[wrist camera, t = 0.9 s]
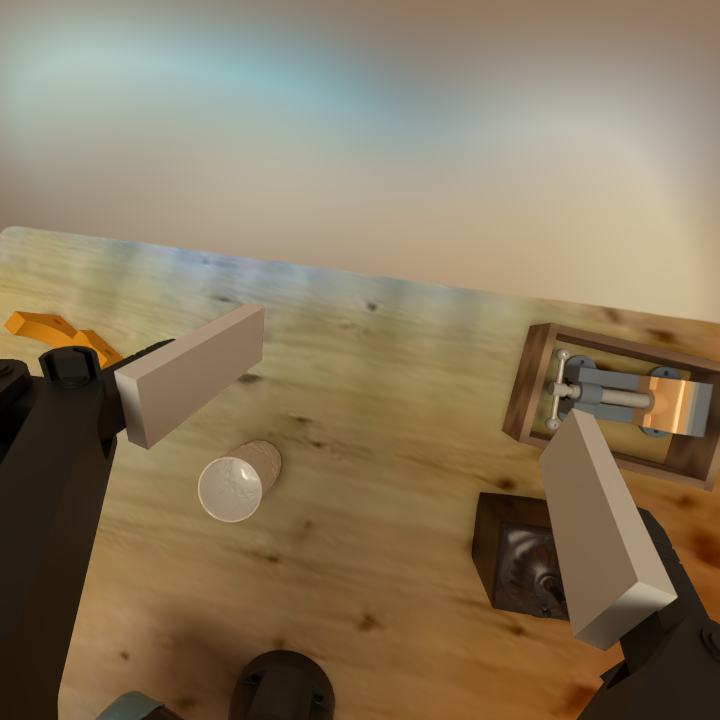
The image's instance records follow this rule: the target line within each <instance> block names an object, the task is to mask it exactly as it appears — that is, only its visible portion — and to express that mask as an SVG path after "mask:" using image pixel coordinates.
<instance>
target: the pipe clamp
mask: <svg viewBox="0 0 720 720" xmlns="http://www.w3.org/2000/svg"><path fill="white" fill-rule="evenodd" d="M4 326H5V327H6V328H7V329H8V330H9V331H10V332H11V333H12V334H13V335H18V336H25V337H29V338H33V339H36V340H39V341H42V342H44V343H46V344H49V345H51V346H52V347H54V348H60V347H65V346H86V347H89V348H93V349H94V350H95V351H96V352H97V354H98V359H99V363H100V367H101V370H103V369H105V368H107V367H109V366H111V365H113V364H115V363H117V362H119V361H121V360H123V359H124V358H123V357H121V356H120V355H119V354H118V353H117V352H116V351H115V350H114V349H113V348H111V347H110V346H109V345H108V344H107V343H106V342H105V341H104V340H103V339H101V338H100V337H99V336H98V335H97V334H96V333H95V332H94V331H87V330H79V332H77V331H76V330H75V329H74V328H73V327H72V326H70V325H69V324H68V323H67V322H66V321H65V320H64V319H63V318H62V317H60V316H57V315H47V314H38V313H28V312H19V311H15V312H14V313H13V315H12V316H11V317H10V318H9V320H8V321H7V322H6V324H5V325H4Z"/></svg>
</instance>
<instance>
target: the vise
mask: <svg viewBox="0 0 720 720" xmlns="http://www.w3.org/2000/svg"><path fill="white" fill-rule="evenodd" d="M556 357H557V358H558V359H559V365H558V371H557V377H556V382H550V384H549V386H548V393H549V395H553V396H554V397H553V403H552V410H551V416H550V418H548V419H547V420H546V422H545V425H546V427H547V428H548V429H550V430H556V429H558V427H559V422H558V420H557V419H556V415H557V416H558V418H559V419H560V420H561V421H562V422H563V421H564V419H565V418H566V416H567V415H568V413H569V412H570V410H571V409H572V408H573V409H576V410H579V411H582V412H586V413H589V414H592V415H594V418H598V419H605V420H612V421H619V422H626V423H632V424H635V425H639V428H640V429H641V431H642V432H643V433H645V434H646V435H649V436H652V437H663V436H665V435H667V434H668V433H669V432H671V433H676V434H683V435H690V436H697V437H704V436H705V430H706V425H707V419H708V414H709V408H710V402H711V397H712V391H713V386H714V385H712V384H705V383H698V382H690V381H683V380H681V378H680V376H679V374H678V372H677V371H676V370H674V369H672V368H670V367H656V368H653V369H652V370H650V371H649V372H648V374H647V375H646V376H640V375H633V374H625V373H618V372H610V371H603V370H598V369H597V368H596V366H595V364H594V362H593V361H592V360H591V359H590V358H588V357H586V356H573V357H571V358H569V357H570V352H569V350H568V349H563V348H561V349H559V350H557V352H556ZM568 358H569V359H568ZM567 359H568V360H567ZM565 360H567V361H566V362H565ZM580 360H581V361H582V362H581V364H580V363H579V362H580ZM664 372H665V374H664ZM562 377H565V378H568V381H571V382H573V384H571V385H569V386H568V387H567V385H566V384H565V383H562ZM600 385H601V386H608V387H615V388H623V391H615V390H609V389H602V387H601V386H600ZM566 395H567V396H568V397H570V399H566V398H565V400H559V396H560V397H565V396H566ZM600 402H604V403H611V404H619V405H622V406H616V405H609V404H602V403H600ZM623 406H626V407H623ZM654 429H655V431H654Z"/></svg>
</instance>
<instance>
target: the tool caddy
mask: <svg viewBox="0 0 720 720" xmlns="http://www.w3.org/2000/svg"><path fill="white" fill-rule="evenodd" d="M555 340H559V341H563V342H567V343H572V344H576V345H580V346H584V347H589V348H593V349H597V350H601V351H605V352H610V353H614V354H618V355H622V356H627V357H631V358H635V359H639V360H643V361H648V362H652V363H656V364H660V365H665V366H669V367H673V368H677V369H681V370H686V371H690V372H692V373H691V376H690V380H689V381H690V382H698V383H705V384H712V385H714V386H713V391H712V397H711V402H710V408H709V414H708V419H707V425H706V430H705V436H704V437H697V436H690V435H683V434H676V433H674V434H673V437H672V441H671V444H670V448H669V451H668V454H667V458H666V461H665V464H661V463H657V462H653V461H649V460H645V459H641V458H637V457H633V456H629V455H625V454H621V453H617V452H614V451H610V452H611V454H612V456H613V458H614V461H615V463H616V465H617V467H618V468H622V469H625V470H629V471H633V472H637V473H641V474H645V475H649V476H653V477H657V478H660V479H664V480H668V481H672V482H676V483H680V484H684V485H688V486H692V487H696V488H699V489H703V490H707V491H711V492H712V490H713V487H714V484H715V480H716V477H717V474H718V471H719V467H720V362H716V361H712V360H708V359H704V358H699V357H695V356H691V355H686V354H682V353H678V352H674V351H669V350H665V349H661V348H657V347H652V346H648V345H644V344H639V343H635V342H631V341H627V340H622V339H618V338H614V337H610V336H605V335H601V334H597V333H592V332H588V331H584V330H580V329H575V328H571V327H567V326H563V325H558V324H554V323H547V324H541V325H534V326H530V328H529V332H528V336H527V339H526V343H525V347H524V350H523V354H522V358H521V362H520V365H519V369H518V373H517V376H516V380H515V384H514V388H513V391H512V395H511V399H510V402H509V406H508V410H507V414H506V417H505V421H504V425H503V428H502V431H503V432H505V433H506V434H508V435H509V436H511V437H512V438H514V439H515V440H516V441H518V442H520V443H524V444H528V445H532V446H536V447H540V448H544V449H546V447H547V445H548V444H549V442H550V441H551V439H552V438H553V436H551V435H547V434H543V433H539V432H535V431H531V427H532V423H533V420H534V416H535V413H536V409H537V405H538V402H539V398H540V394H541V391H542V387H543V383H544V380H545V376H546V372H547V369H548V365H549V361H550V358H551V354H552V350H553V347H554V343H555Z"/></svg>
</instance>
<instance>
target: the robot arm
mask: <svg viewBox="0 0 720 720" xmlns="http://www.w3.org/2000/svg"><path fill="white" fill-rule="evenodd" d="M264 309H265V307H262V306H259V305H256V304H253V303H250V302H249V303H247V304H245V305H243V306H241V307H239V308H237V309H235V310H233V311H231V312H230V313H228V314H226V315H224V316H222V317H220V318H218V319H216V320H214V321H212V322H210V323H208V324H206V325H204V326H202V327H200V328H198V329H196V330H194V331H192V332H190V333H188V334H186V335H184V336H182V337H180V338H178V339H177V340H176V339H170V340H166V341H161V342H158V343H156V344H154V345H152V346H150V347H147V348H146V349H145V350H141V351H139V352H137V353H136V354H135V355H131V356H129V357H127V358H125V359H123V360H121V361H119V362H117V363H115V364H113V365H111V366H109V367H107V368H105V369H103V370H101V367H100V363H99V359H98V354H97V352H96V351H95V350H94V349H93V348H89V347H86V346H65V347H60V348H56V349H52V350H50V351H48V352H46V353H43V354H42V355H41V356H40V357H39V358H38V359H39V362H40V365H41V368H42V371H43V374H44V377H38V376H31V375H30V372H29V370H28V367H27V364H26V363H24V362H23V361H20V360H15V359H0V720H58V704H57V703H58V693H59V688H60V683H61V679H62V675H63V670H64V666H65V662H66V658H67V654H68V649H69V645H70V641H71V637H72V632H73V628H74V624H75V620H76V615H77V611H78V607H79V603H80V599H81V594H82V590H83V586H84V582H85V577H86V573H87V569H88V565H89V560H90V556H91V552H92V548H93V543H94V539H95V535H96V531H97V527H98V522H99V518H100V514H101V510H102V505H103V501H104V497H105V493H106V488H107V484H108V480H109V476H110V471H111V467H112V463H113V459H114V455H115V450H116V446H117V436H116V434H117V433H119V432H120V431H122V430H123V429H125V428H126V430H127V435H128V440H129V441H130V442H132V443H134V444H136V445H139V446H141V447H143V448H146V449H150V448H151V447H152V446H153V445H155V444H156V443H157V442H158V441H160V440H161V439H162V438H163V437H165V436H166V435H167V434H168V433H170V432H171V431H172V430H174V429H175V428H176V427H177V426H179V425H180V424H181V423H182V422H184V421H185V420H186V419H187V418H189V417H190V416H191V415H192V414H194V413H195V412H196V411H197V410H199V409H200V408H201V407H203V406H204V405H205V404H206V403H208V402H209V401H210V400H211V399H213V398H214V397H215V396H216V395H218V394H219V393H220V392H221V391H223V390H224V389H225V388H226V387H228V386H229V385H230V384H232V383H233V382H234V381H235V380H237V379H238V378H239V377H240V376H242V375H243V374H244V373H245V372H247V371H248V370H249V369H250V368H252V367H253V366H254V365H255V364H257V363H258V362H259V361H261V360H262V346H263V327H264ZM539 463H540V468H541V473H542V478H543V484H544V489H545V494H546V499H547V504H548V509H549V514H550V520H551V525H552V530H553V535H554V540H555V545H556V551H557V556H558V561H559V566H560V571H561V576H562V581H563V587H564V592H565V597H566V602H567V607H568V612H569V618H570V623H571V628H572V633H573V637H574V638H576V639H579V640H581V641H583V642H586V643H588V644H590V645H592V646H595V647H597V648H599V649H601V650H604V651H606V650H607V649H609V648H610V647H611V646H613V645H614V644H615V643H617V642H618V641H620V644H621V647H622V651H623V654H624V657H625V659H624V660H623V661H621V662H620V663H618V664H617V665H615V666H614V667H613V668H611V669H610V670H608V671H607V672H605V673H604V674H602V675H601V676H600V678H601V679H602V680H603V681H604V683H603V684H602V686H601V687H600V688H599V690H598V691H597V692H596V694H595V695H594V697H593V698H592V699H591V701H590V702H589V703H588V705H587V706H586V707H585V709H584V710H583V712H582V713H581V714H580V716H579V717H578V718H577V720H720V625H719V624H718V623H717V622H715V621H713V620H711V619H710V618H709V616H708V614H707V612H706V610H705V608H704V606H703V604H702V603H701V601H700V599H699V597H698V595H697V593H696V591H695V589H694V587H693V585H692V583H691V581H690V579H689V577H688V575H687V573H686V571H685V570H684V568H683V566H682V564H680V563H679V561H680V560H679V558H678V556H677V554H676V552H675V550H674V549H672V544H671V542H670V540H669V538H668V537H667V535H666V533H665V531H664V529H663V528H662V526H661V525H660V524H659V523H658V522H657V521H656V519H655V518H654V517H653V516H652V515H651V514H650V512H649V511H647V510H644V509H642V508H639V507H636V506H635V504H634V501H633V499H632V497H631V495H630V493H629V491H628V489H627V486H626V484H625V482H624V480H623V478H622V476H621V473H620V471H619V469H618V467H617V465H616V463H615V461H614V458H613V456H612V454H611V452H610V450H609V448H608V446H607V443H606V441H605V439H604V437H603V435H602V433H601V430H600V428H599V426H598V424H597V422H596V420H595V418H594V415H592V414H589V413H586V412H582V411H579V410H576V409H573V408H572V409H571V410H570V412H569V413H568V415H567V416H566V418H565V419H564V421H563V423H562V424H561V426H560V427H559V429H558V430H557V432H556V433H555V435H554V436H553V438H552V439H551V441H550V442H549V444H548V445H547V447H546V449H545V450H544V452H543V453H542V455H541V456H540V458H539ZM334 705H335V704H334V694H333V690H332V687H331V684H330V682H329V680H328V678H327V677H326V675H325V674H324V672H323V671H322V670H321V669H320V668H319V667H318V666H317V665H316V664H315V663H314V662H312V661H311V660H309V659H308V658H306V657H304V656H302V655H299V654H296V653H293V652H287V651H275V652H270V653H266V654H263V655H261V656H259V657H257V658H256V659H254V660H253V661H251V662H250V663H249V664H248V665H247V666H246V668H245V669H244V670H243V672H242V673H241V675H240V677H239V680H238V682H237V684H236V687H235V689H234V691H233V694H232V698H231V702H230V708H229V716H228V720H333V714H334ZM96 720H184V719H182V718H181V717H180V716H178V715H177V714H175V713H174V712H173V711H171V710H170V709H168V708H167V707H166V706H165V704H164V703H163V702H157V701H155V700H153V699H151V698H149V697H148V696H146V695H144V694H143V693H141V692H138V691H131V692H128V693H126V694H124V695H122V696H120V697H119V698H118V699H116V700H115V701H114V702H113V703H112V704H111V705H109V706H108V707H107V708H106V709H105V710H104V711H103V712H102V713H101V714H100V715H99V716H98V717H97V718H96Z"/></svg>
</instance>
